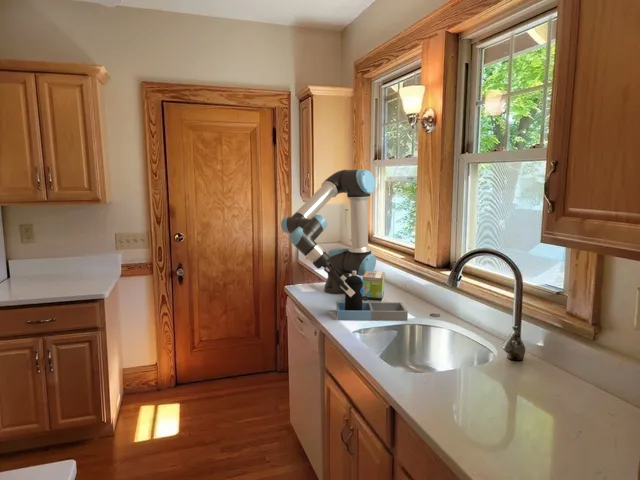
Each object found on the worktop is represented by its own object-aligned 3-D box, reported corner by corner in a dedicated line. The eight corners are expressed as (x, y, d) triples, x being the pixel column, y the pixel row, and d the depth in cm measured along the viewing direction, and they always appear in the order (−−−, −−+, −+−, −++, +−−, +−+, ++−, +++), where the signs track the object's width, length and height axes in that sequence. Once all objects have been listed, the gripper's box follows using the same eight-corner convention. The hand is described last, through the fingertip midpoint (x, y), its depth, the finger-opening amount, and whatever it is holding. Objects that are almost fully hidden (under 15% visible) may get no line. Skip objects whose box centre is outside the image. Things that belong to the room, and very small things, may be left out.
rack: (336, 310, 200) (336, 302, 200) (401, 310, 200) (402, 302, 199) (337, 320, 186) (337, 311, 186) (407, 320, 186) (407, 311, 185)
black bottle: (347, 318, 188) (348, 273, 185) (341, 313, 196) (342, 269, 193) (365, 317, 190) (366, 272, 188) (358, 311, 198) (359, 268, 195)
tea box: (382, 308, 204) (383, 277, 202) (361, 307, 206) (361, 276, 204) (384, 299, 218) (384, 271, 216) (364, 298, 220) (364, 270, 218)
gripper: (312, 257, 202) (344, 289, 204) (311, 268, 177) (347, 304, 179) (324, 246, 201) (355, 278, 203) (324, 255, 177) (360, 292, 178)
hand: (351, 290), depth 191 cm, fingers open, 13 cm apart
